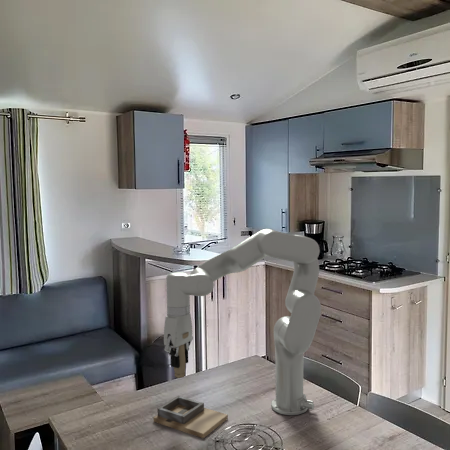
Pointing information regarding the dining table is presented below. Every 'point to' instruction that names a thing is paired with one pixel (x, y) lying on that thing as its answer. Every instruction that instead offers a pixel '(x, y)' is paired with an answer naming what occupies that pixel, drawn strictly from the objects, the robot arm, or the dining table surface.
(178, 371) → the handle
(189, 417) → the subfloor panel
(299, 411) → the robot arm
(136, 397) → the dining table surface
